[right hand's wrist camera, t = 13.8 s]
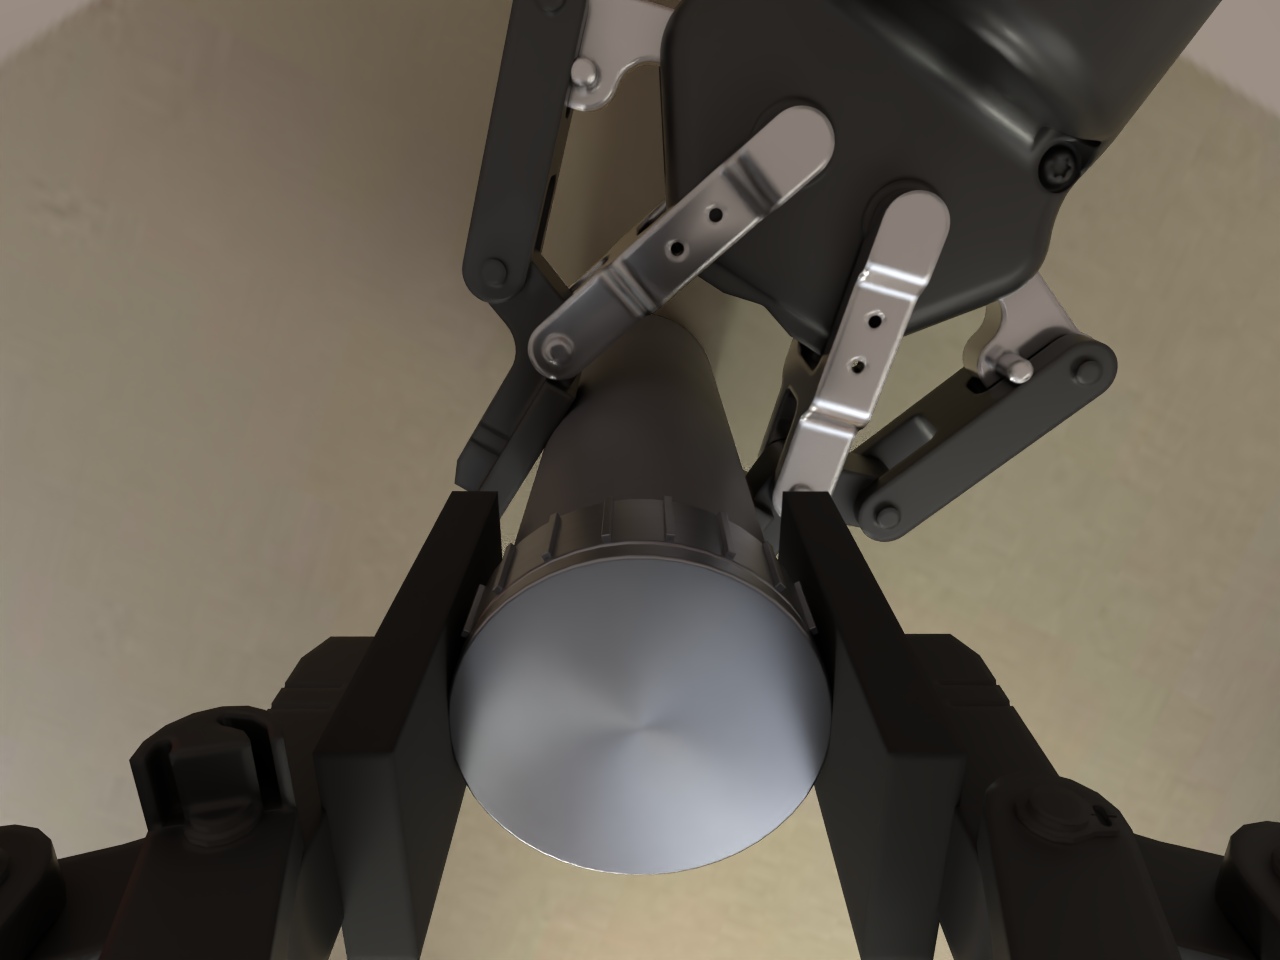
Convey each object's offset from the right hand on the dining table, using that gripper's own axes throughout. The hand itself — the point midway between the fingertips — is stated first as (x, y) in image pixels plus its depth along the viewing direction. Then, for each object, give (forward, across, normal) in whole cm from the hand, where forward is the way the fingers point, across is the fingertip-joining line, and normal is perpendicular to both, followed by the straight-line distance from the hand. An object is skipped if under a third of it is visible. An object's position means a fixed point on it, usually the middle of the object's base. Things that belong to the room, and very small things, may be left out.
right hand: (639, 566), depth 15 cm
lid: (-4, 0, 0) cm, 4 cm away
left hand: (+5, -1, -2) cm, 5 cm away
